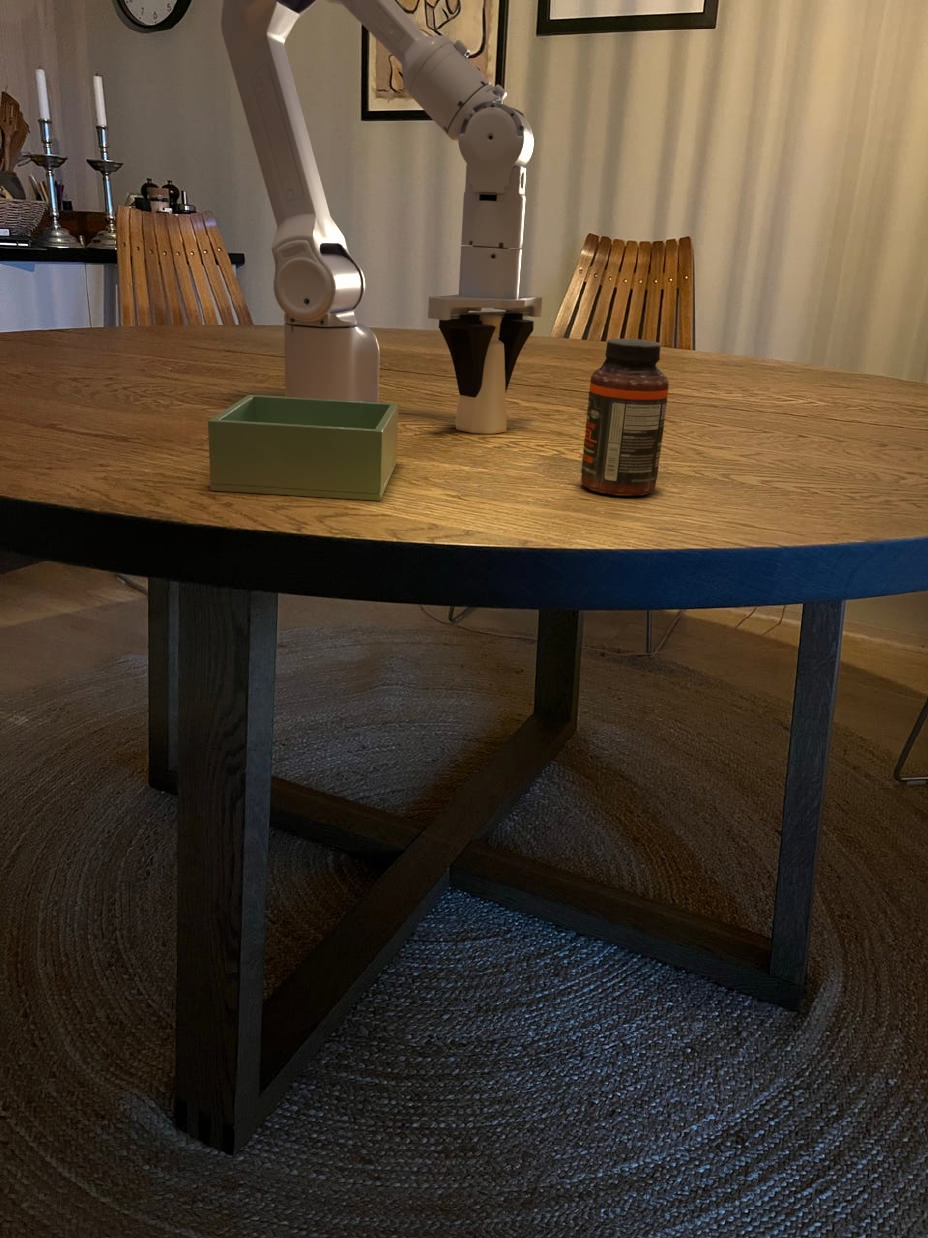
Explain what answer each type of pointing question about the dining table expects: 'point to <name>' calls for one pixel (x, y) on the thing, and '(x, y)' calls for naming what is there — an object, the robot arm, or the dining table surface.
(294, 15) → the robot arm
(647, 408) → the supplement bottle
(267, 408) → the storage bin
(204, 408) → the dining table surface
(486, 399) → the pepper shaker
